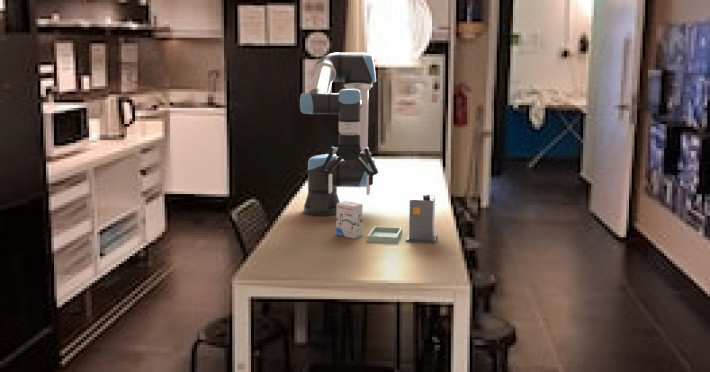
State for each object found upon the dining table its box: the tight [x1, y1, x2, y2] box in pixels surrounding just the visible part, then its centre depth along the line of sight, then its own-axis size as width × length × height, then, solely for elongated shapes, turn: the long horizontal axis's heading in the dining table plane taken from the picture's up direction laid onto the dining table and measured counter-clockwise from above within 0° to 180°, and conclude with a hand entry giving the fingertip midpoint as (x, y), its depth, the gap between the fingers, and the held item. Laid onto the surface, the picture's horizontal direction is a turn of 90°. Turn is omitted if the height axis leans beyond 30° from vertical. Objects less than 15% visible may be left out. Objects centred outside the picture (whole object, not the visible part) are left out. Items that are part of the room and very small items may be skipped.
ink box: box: [335, 200, 363, 239], centre depth 279 cm, size 9×5×12 cm, turn 52°
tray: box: [366, 225, 403, 244], centre depth 278 cm, size 10×14×2 cm
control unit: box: [405, 194, 438, 244], centre depth 274 cm, size 10×10×16 cm
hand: (349, 193), depth 277 cm, fingers open, 13 cm apart
